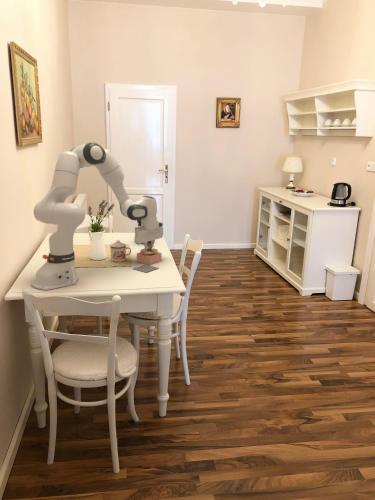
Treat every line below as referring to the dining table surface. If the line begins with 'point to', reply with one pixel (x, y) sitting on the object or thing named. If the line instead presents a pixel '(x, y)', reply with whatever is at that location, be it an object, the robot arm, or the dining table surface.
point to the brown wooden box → (140, 226)
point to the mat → (145, 268)
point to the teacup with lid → (119, 251)
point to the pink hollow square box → (149, 258)
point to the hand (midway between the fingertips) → (149, 248)
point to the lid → (149, 250)
